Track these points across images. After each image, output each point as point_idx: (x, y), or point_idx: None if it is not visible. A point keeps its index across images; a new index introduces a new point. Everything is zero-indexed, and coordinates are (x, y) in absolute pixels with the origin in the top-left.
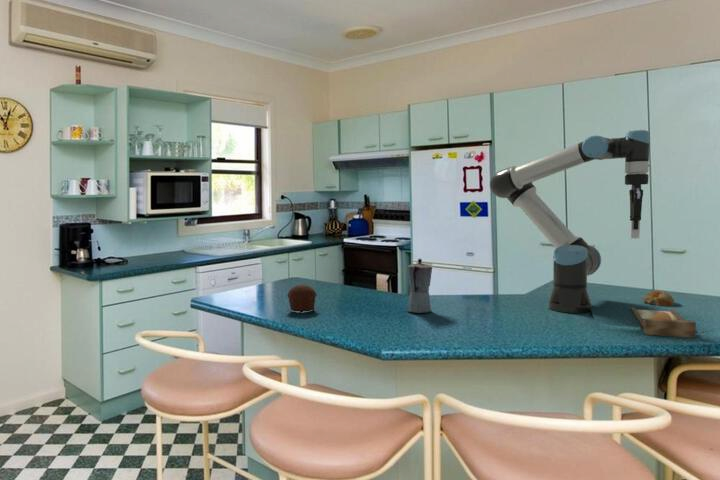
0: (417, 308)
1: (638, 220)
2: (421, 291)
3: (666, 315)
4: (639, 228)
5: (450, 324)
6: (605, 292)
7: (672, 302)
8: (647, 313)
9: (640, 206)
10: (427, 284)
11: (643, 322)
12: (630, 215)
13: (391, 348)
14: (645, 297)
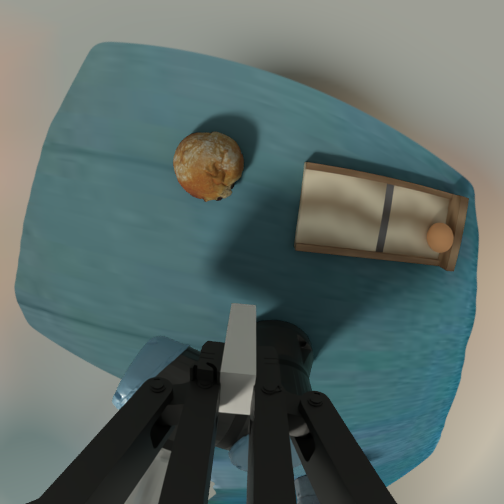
0: None
1: (284, 389)
2: None
3: (453, 236)
4: (255, 338)
5: (368, 453)
6: (82, 253)
7: (233, 140)
8: (332, 224)
9: (375, 482)
10: (317, 502)
11: (419, 260)
12: (163, 430)
13: (428, 453)
14: (207, 197)
